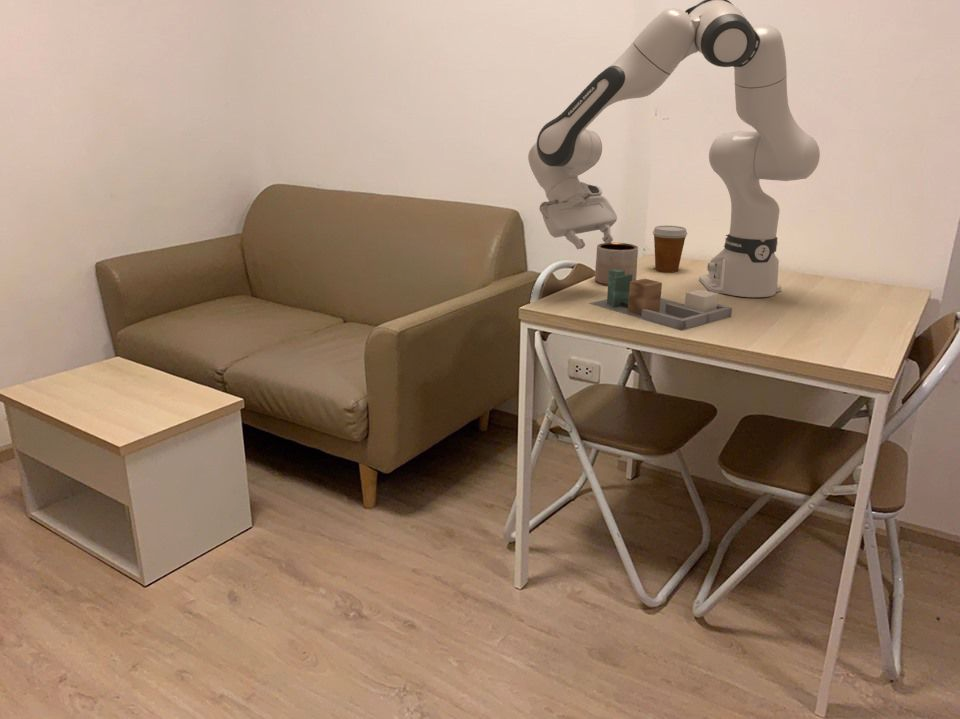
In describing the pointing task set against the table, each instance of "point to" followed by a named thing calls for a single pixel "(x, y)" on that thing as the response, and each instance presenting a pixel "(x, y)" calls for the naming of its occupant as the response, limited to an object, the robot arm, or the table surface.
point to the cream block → (701, 300)
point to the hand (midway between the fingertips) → (595, 244)
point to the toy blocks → (633, 292)
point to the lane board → (674, 314)
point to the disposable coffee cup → (668, 247)
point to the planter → (615, 260)
